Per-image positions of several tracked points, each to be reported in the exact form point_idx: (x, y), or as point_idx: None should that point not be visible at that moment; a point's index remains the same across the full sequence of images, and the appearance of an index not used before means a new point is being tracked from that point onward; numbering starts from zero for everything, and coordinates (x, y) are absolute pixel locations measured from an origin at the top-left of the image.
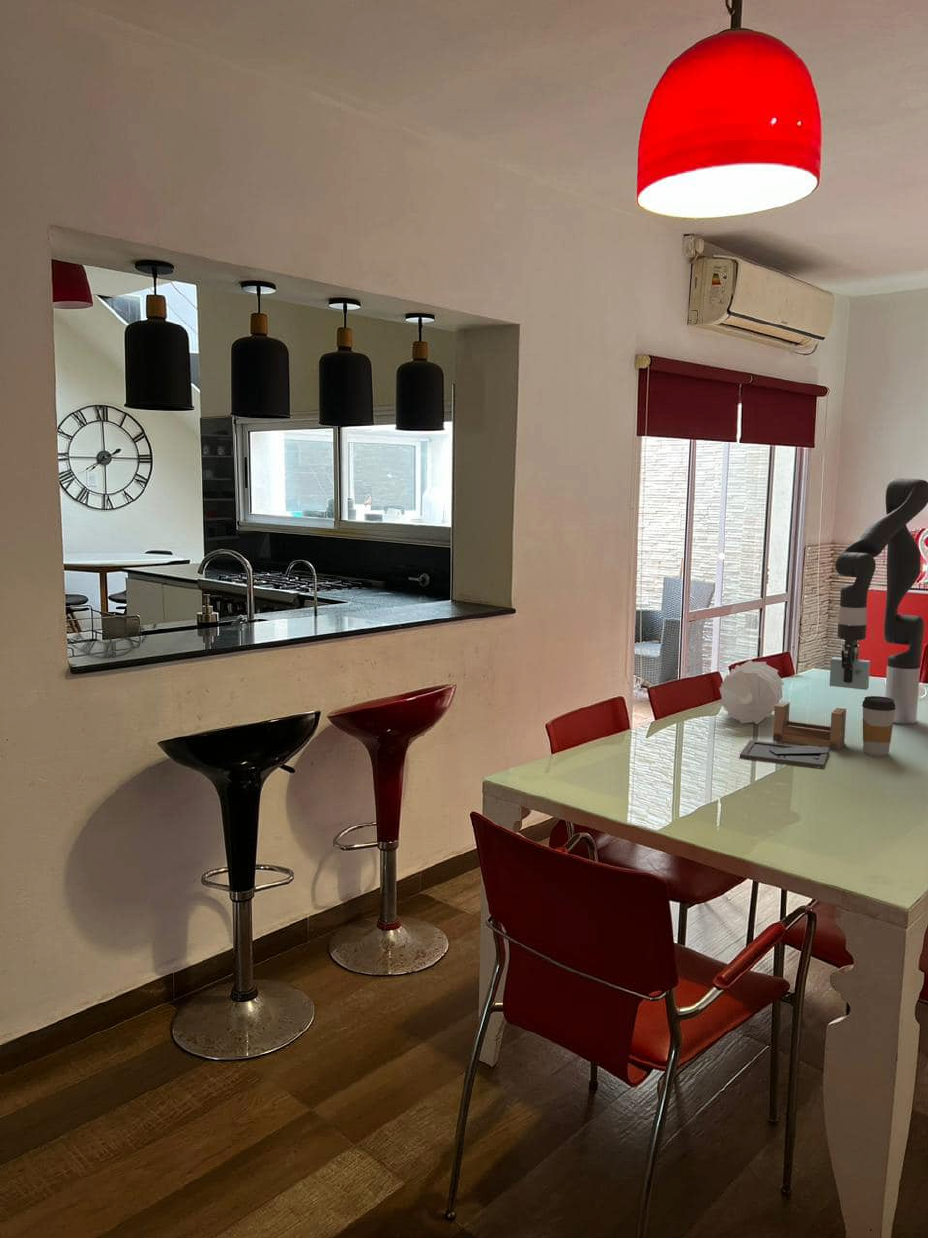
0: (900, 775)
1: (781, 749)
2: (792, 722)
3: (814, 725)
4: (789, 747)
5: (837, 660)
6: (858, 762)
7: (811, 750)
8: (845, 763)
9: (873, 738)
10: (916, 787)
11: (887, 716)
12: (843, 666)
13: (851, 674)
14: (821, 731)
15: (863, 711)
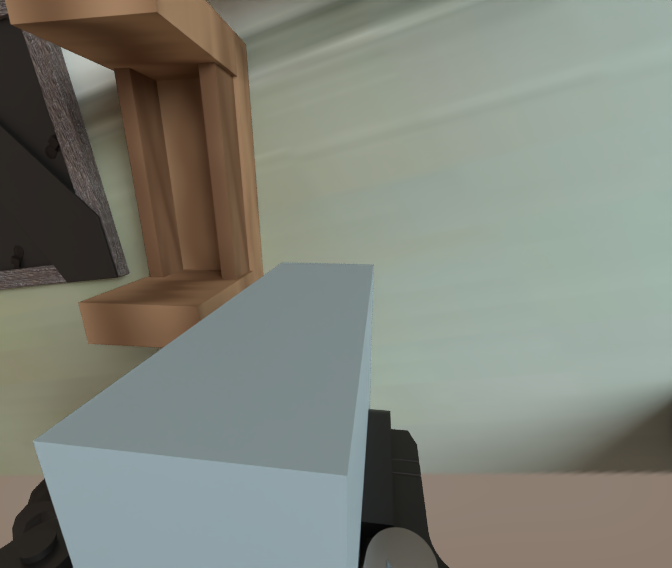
0: None
1: (1, 141)
2: (202, 89)
3: (213, 196)
4: (68, 152)
5: (99, 549)
6: (97, 356)
7: (55, 234)
8: (64, 330)
9: None
10: (14, 472)
11: None
12: (11, 562)
13: None
14: (147, 242)
15: None
